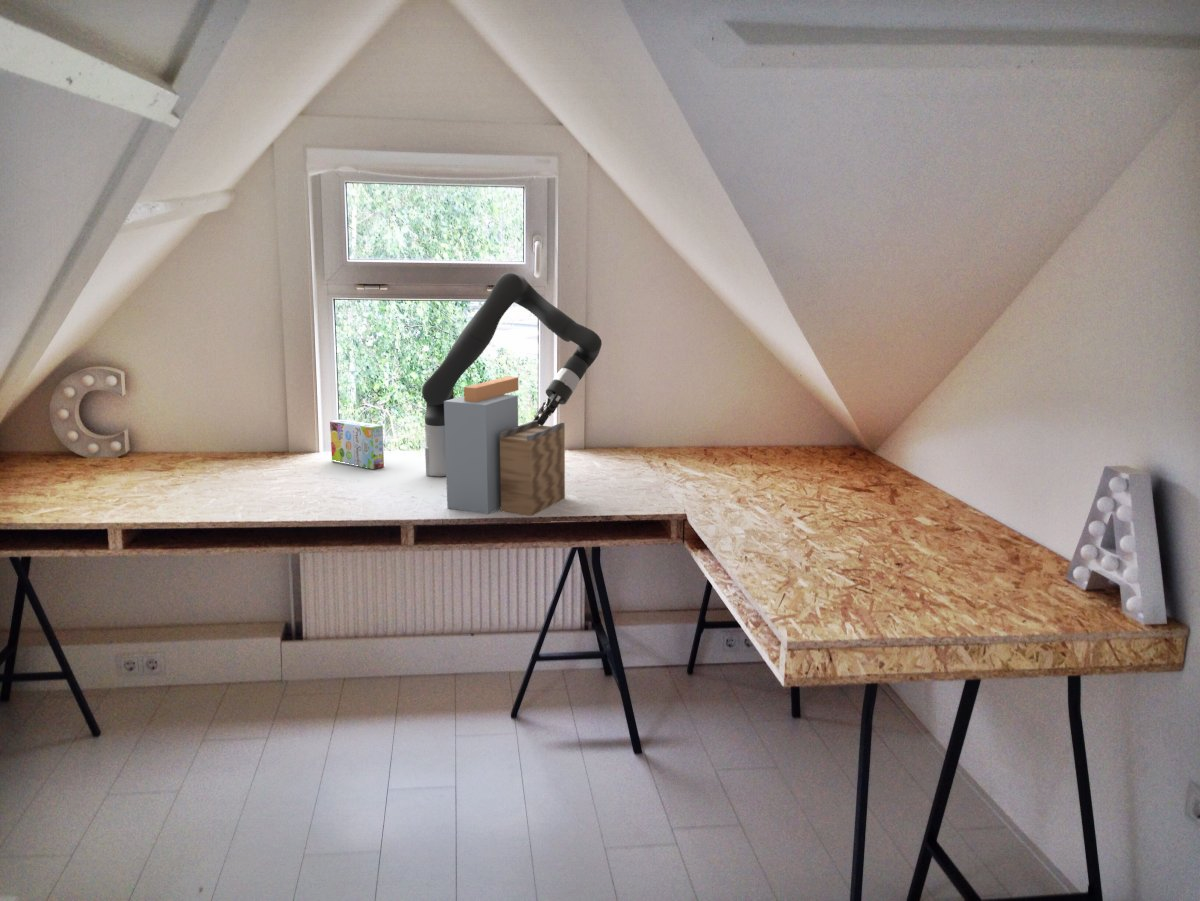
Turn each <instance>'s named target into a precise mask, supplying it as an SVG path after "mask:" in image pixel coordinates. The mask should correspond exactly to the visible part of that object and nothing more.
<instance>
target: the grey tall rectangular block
mask: <svg viewBox="0 0 1200 901" xmlns="http://www.w3.org/2000/svg"><path fill="white" fill-rule="evenodd" d="M444 420H445V450H446V476H445V478H446V481H445V482H446V504H447V507H446V508H447V509H449V508H451V509H450V510H456V509H459V510H458V511H463V510H464V512H472V513H476V514H477V513H478V514H485V515H489V514H491V513H494V512H496V511H498V510H501V475H500V432H503V431H506V430H509V429H512V428H514V427H517V426H519V395H517V394H516V395H514V394H503V395H499V396H496V397H492V398H489V399H485V400H481V401H478V402H471V401H464V395H462V396H458V397H454V399H450V400H446V401H444Z"/></svg>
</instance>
